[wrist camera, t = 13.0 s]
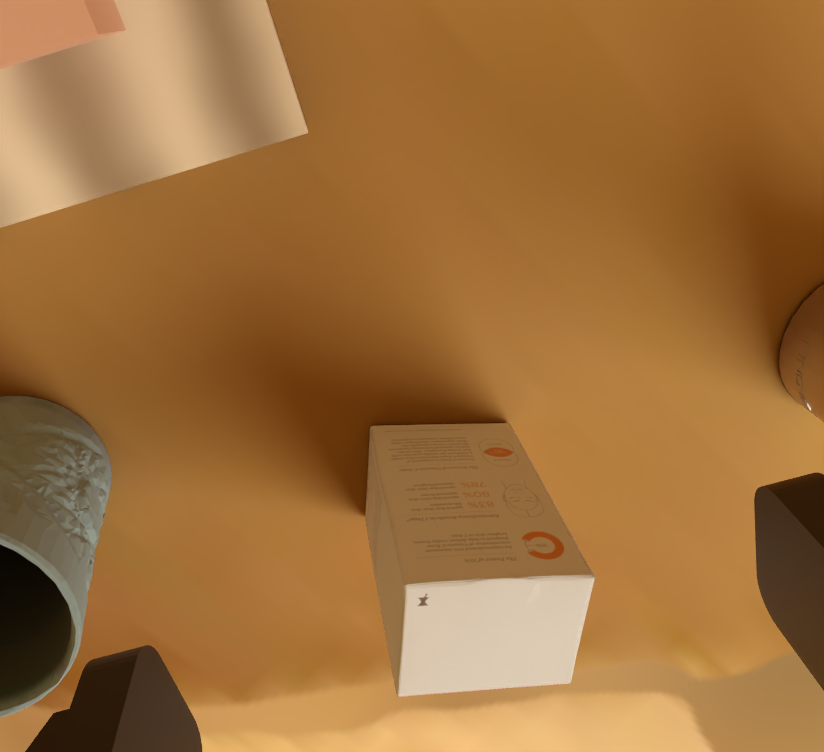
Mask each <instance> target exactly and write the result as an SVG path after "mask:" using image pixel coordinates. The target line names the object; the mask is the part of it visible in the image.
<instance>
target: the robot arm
mask: <svg viewBox="0 0 824 752" xmlns="http://www.w3.org/2000/svg"><path fill="white" fill-rule="evenodd" d="M779 368H780V373H781V379H782V381H783V383H784V385H785V388H786V390H787V391H788V393H789V394H790V395H791V396H792V397H793V398H794V399H795V400H796V401H797V402H798V403H800V404H801V405H802V406H803V407H805V408H806V409H807V410H809V411H810V412H811V413H813V414H814V415H815V416H816V417H818V418H819V419H820V420H822V421H823V422H824V284H823V285H821V286H820V287H819V288H817V289H816V290H815V291H814V292H813V293H812V294H811V295H810V296H809V297H808V298H807V299H806V300H805V301H804V302H803V303H802V305H801V306H800V308H799V309H798V310H797V312H796V313H795V315H794V316H793V317H792V319H791V321H790V323H789V325H788V327H787V330H786V332H785V334H784V337H783V341H782V344H781V348H780V358H779ZM754 504H755V535H756V565H757V580H758V585H759V589H760V592H761V595H762V598H763V601H764V603H765V606H766V608H767V610H768V612H769V614H770V616H771V618H772V619H773V621H774V622H775V624H776V625H777V627H778V628H779V630H780V631H781V632H782V634H783V635H784V637H785V638H786V639H787V641H788V642H789V643H790V645H791V646H792V648H793V649H794V650H795V652H796V653H797V654H798V656H799V657H800V658H801V660H802V661H803V663H804V664H805V665H806V667H807V668H808V669H809V671H810V672H811V674H812V675H813V676H814V678H815V679H816V680H817V682H818V683H819V685H820V686H821V687H822V689H823V690H824V475H823V474H821V473H812V474H808V475H804V476H800V477H796V478H793V479H789V480H785V481H781V482H777V483H773V484H770V485H766V486H762V487H759V488H758V489H757V490H756V493H755V500H754ZM25 752H202V744H201V738H200V733H199V730H198V727H197V724H196V721H195V719H194V717H193V715H192V713H191V712H190V710H189V708H188V706H187V704H186V702H185V701H184V699H183V697H182V695H181V693H180V691H179V690H178V688H177V686H176V684H175V682H174V681H173V679H172V677H171V675H170V673H169V671H168V670H167V668H166V666H165V664H164V662H163V660H162V659H161V657H160V655H159V654H158V652H157V651H156V650H155V648H153V647H152V646H149V645H148V646H143V647H139V648H135V649H131V650H127V651H123V652H120V653H116V654H112V655H108V656H104V657H101V658H97V659H93V660H91V661H89V662H88V663H87V664H86V666H85V668H84V670H83V672H82V674H81V677H80V680H79V683H78V686H77V689H76V692H75V695H74V698H73V701H72V704H71V706H70V709H67V710H63V711H60V712H56V713H53V715H52V716H51V718H50V719H49V720H48V722H47V723H46V725H45V726H44V727H43V728H42V730H41V731H40V732H39V734H38V735H37V737H36V738H35V739H34V741H33V742H32V743H31V745H30V746H29V747H28V749H27V750H26V751H25Z"/></svg>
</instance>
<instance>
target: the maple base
mask: <svg viewBox="0 0 824 752" xmlns="http://www.w3.org/2000/svg"><path fill="white" fill-rule="evenodd" d="M114 2H115V4H116V7H117V9H118V11H119V14H120V16H121V19H122V21H123V24H124V26H125V28H126V30H125V31H122V32H119V33H116V34H112V35H109V36H106V37H103V38H100V39H96V40H93V41H90V42H87V43H84V44H80V45H77V46H74V47H71V48H68V49H64V50H61V51H58V52H55V53H52V54H48V55H45V56H42V57H39V58H36V59H32V60H29V61H26V62H23V63H20V64H16V65H13V66H10V67H7V68H4V69H0V228H1V227H4V226H8V225H11V224H14V223H17V222H21V221H24V220H27V219H30V218H34V217H37V216H40V215H43V214H47V213H50V212H53V211H56V210H60V209H63V208H66V207H69V206H73V205H76V204H79V203H82V202H86V201H89V200H92V199H95V198H99V197H102V196H105V195H108V194H112V193H115V192H118V191H121V190H125V189H128V188H131V187H134V186H138V185H141V184H144V183H147V182H151V181H154V180H157V179H160V178H164V177H167V176H170V175H173V174H177V173H180V172H183V171H186V170H190V169H193V168H196V167H199V166H203V165H206V164H209V163H212V162H216V161H219V160H222V159H225V158H229V157H232V156H235V155H238V154H242V153H245V152H248V151H251V150H255V149H258V148H261V147H264V146H268V145H271V144H274V143H277V142H281V141H284V140H287V139H290V138H294V137H297V136H300V135H303V134H307V133H308V129H307V124H306V121H305V117H304V114H303V111H302V108H301V105H300V102H299V99H298V96H297V93H296V89H295V86H294V83H293V80H292V77H291V74H290V71H289V68H288V65H287V61H286V58H285V55H284V52H283V49H282V46H281V43H280V40H279V37H278V33H277V30H276V27H275V24H274V21H273V18H272V15H271V12H270V9H269V5H268V2H267V0H114Z"/></svg>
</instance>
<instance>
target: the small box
mask: <svg viewBox="0 0 824 752" xmlns="http://www.w3.org/2000/svg"><path fill="white" fill-rule="evenodd" d="M365 521H366V527H367V532H368V539H369V544H370V551H371V557H372V563H373V569H374V575H375V580H376V585H377V590H378V596H379V601H380V607H381V613H382V619H383V624H384V630H385V635H386V641H387V646H388V652H389V657H390V663H391V668H392V673H393V678H394V684H395V688H396V693H397V696H398V697H404V696H415V695H428V694H440V693H453V692H466V691H478V690H492V689H504V688H516V687H530V686H542V685H555V684H569V683H570V682H571V679H572V674H573V670H574V665H575V660H576V656H577V651H578V647H579V642H580V638H581V634H582V629H583V625H584V621H585V617H586V612H587V608H588V604H589V600H590V595H591V591H592V587H593V583H594V579H595V576H594V574H593V572H592V571H591V569H590V567H589V565H588V564H587V562H586V560H585V559H584V557H583V555H582V553H581V551H580V550H579V548H578V546H577V544H576V542H575V541H574V539H573V537H572V535H571V533H570V531H569V530H568V528H567V526H566V524H565V522H564V520H563V519H562V517H561V515H560V513H559V511H558V509H557V508H556V506H555V504H554V502H553V500H552V499H551V497H550V495H549V493H548V492H547V490H546V488H545V486H544V484H543V482H542V481H541V479H540V477H539V475H538V473H537V471H536V470H535V468H534V466H533V464H532V462H531V460H530V459H529V457H528V455H527V453H526V451H525V450H524V448H523V446H522V444H521V442H520V441H519V439H518V437H517V435H516V434H515V432H514V430H513V428H512V427H511V425H510V424H509V423H480V424H425V425H381V426H371V427H370V441H369V460H368V479H367V496H366V514H365Z"/></svg>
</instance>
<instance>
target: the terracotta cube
mask: <svg viewBox="0 0 824 752" xmlns="http://www.w3.org/2000/svg"><path fill="white" fill-rule="evenodd" d="M125 30H126V28H125V26H124V24H123V21H122V19H121V16H120V14H119V11H118V9H117V7H116V4H115V2H114V0H0V69H4V68H7V67H10V66H13V65H16V64H20V63H23V62H26V61H29V60H32V59H36V58H39V57H42V56H45V55H48V54H52V53H55V52H58V51H61V50H64V49H68V48H71V47H74V46H77V45H80V44H84V43H87V42H90V41H93V40H96V39H100V38H103V37H106V36H109V35H112V34H116V33H119V32H122V31H125Z"/></svg>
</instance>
